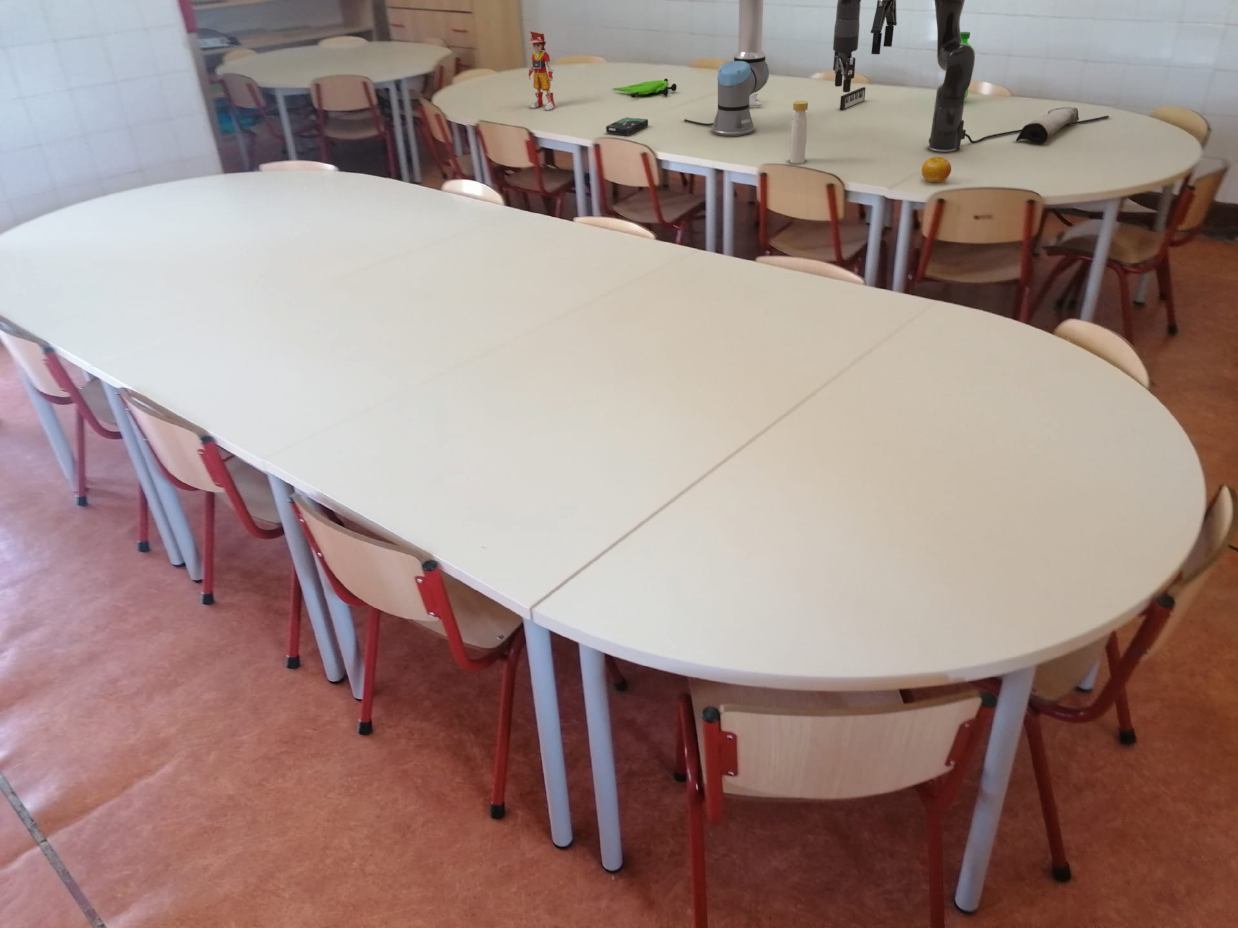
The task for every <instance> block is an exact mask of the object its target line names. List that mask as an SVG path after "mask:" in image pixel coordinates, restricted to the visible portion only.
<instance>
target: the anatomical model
mask: <svg viewBox="0 0 1238 928" xmlns="http://www.w3.org/2000/svg"><path fill="white" fill-rule="evenodd" d="M758 95H759V94H758V93H757V92H755V93H753V94H751V95H750V97H749V109H750V108H751V107H761V106H762V105H763V104H762V102H758V101H756V100H757V99H758V97H757V96H758Z"/></svg>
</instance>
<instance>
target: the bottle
mask: <svg viewBox="0 0 1238 928" xmlns="http://www.w3.org/2000/svg"><path fill="white" fill-rule="evenodd" d="M807 119H808V118H807V112H806V110H805V111H795V110H794V114H793V117H792V121H791V132H790V149H789V163H790V164H803V163H805V160H806V148H807V147H806V146H807V145H806V144H807V132H808V120H807Z"/></svg>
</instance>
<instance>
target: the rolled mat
mask: <svg viewBox="0 0 1238 928" xmlns="http://www.w3.org/2000/svg"><path fill="white" fill-rule="evenodd" d="M1077 121H1080V117H1079V109H1078V108H1077V107H1071V106H1063V107H1058V108H1052V109H1049V111H1048V112H1047V113H1046V114H1044V115H1042V116H1040V117H1038V118H1036V119H1034V120H1032V121H1030V122H1029V123H1028V124H1025V125H1023V127H1022V128H1021V129H1022V130H1021V129H1020V130H1021V132H1019V134H1018V136H1017V138H1016V139H1015V142H1019V141H1021V140H1026V141H1028V142H1029V143H1031V144H1036V145H1044V144H1045V143H1046V142H1047V141H1049V140H1050V139H1051V138H1052V136H1054V134H1056V132H1058V131H1059V130H1060V129H1062V128H1063V127H1064V125H1065V124H1071V123H1075V122H1077ZM1065 126H1066V125H1065Z"/></svg>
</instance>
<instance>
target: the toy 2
mask: <svg viewBox="0 0 1238 928" xmlns="http://www.w3.org/2000/svg"><path fill="white" fill-rule="evenodd" d="M669 85H670V83H669V79H668V78H664V79H663V80H649V81H644V82H640V83H634V84H629V85H627V86H621V87H613V88H612V89H613V90H616V91H619V92H623V93H627V94H628V93H629V94H631V95H630V96H631V98H632V99H634V98H636V96H637V95H650V94H652V93H654V94H658V93H662V95H663V96H665V97H667V96H668V95H669V90H671V91H672V92H676V91H677V84H676V83H672V84H671V86H669Z"/></svg>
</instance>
